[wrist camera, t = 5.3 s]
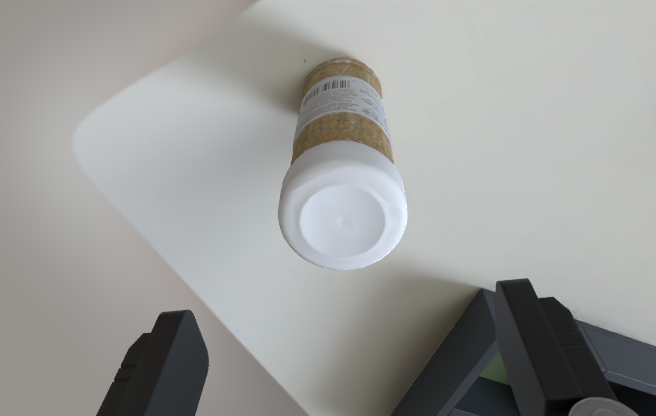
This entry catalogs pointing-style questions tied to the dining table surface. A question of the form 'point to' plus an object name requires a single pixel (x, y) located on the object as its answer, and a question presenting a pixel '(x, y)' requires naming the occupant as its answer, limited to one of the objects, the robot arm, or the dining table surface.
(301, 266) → the dining table surface
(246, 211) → the dining table surface
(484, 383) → the divided storage tray
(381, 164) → the sprinkles bottle
